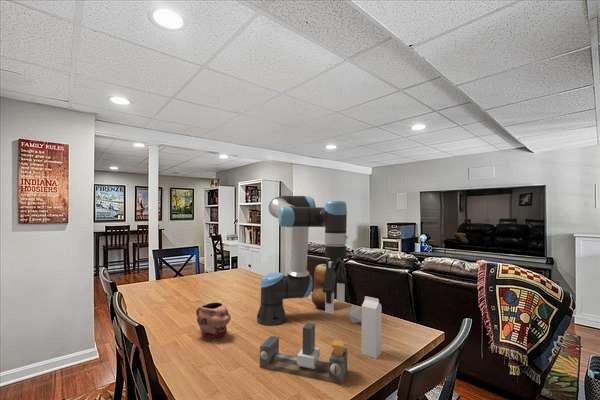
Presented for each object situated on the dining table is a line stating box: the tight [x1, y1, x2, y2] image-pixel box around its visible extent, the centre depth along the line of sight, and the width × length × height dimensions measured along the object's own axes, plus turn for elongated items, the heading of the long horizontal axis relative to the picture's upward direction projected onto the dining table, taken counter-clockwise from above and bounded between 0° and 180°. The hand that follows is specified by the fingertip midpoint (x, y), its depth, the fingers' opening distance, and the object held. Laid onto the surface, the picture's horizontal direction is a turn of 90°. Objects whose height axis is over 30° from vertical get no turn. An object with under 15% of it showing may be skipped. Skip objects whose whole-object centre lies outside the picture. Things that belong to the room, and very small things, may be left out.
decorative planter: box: [195, 302, 232, 341], centre depth 128 cm, size 20×12×14 cm, turn 65°
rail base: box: [259, 335, 348, 385], centre depth 102 cm, size 30×10×8 cm, turn 71°
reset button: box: [331, 339, 347, 356], centre depth 98 cm, size 4×4×4 cm
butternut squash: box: [310, 263, 335, 309], centre depth 169 cm, size 14×13×25 cm
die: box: [348, 305, 362, 324], centre depth 146 cm, size 8×9×10 cm
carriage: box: [296, 322, 321, 369], centre depth 101 cm, size 6×8×13 cm
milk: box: [361, 295, 383, 360], centre depth 114 cm, size 6×6×22 cm
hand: (335, 306), depth 99 cm, fingers open, 13 cm apart
